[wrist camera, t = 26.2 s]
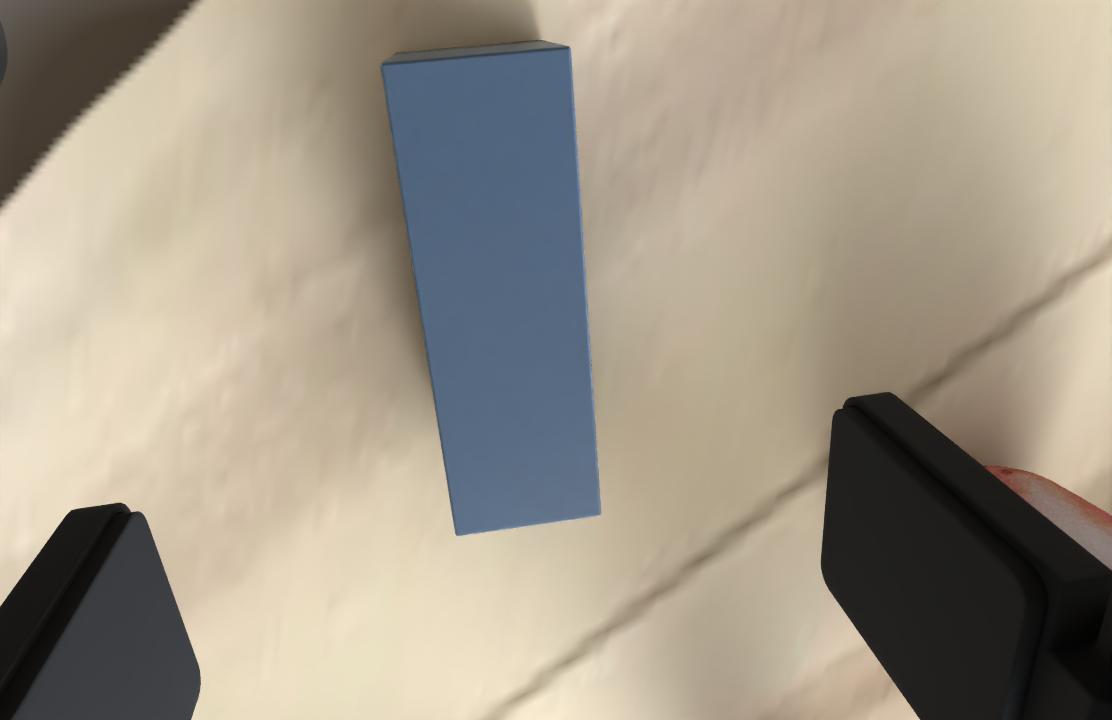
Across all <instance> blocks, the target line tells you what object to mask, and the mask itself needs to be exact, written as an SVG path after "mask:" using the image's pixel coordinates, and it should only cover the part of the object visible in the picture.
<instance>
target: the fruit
mask: <svg viewBox="0 0 1112 720" xmlns="http://www.w3.org/2000/svg"><path fill="white" fill-rule="evenodd" d="M983 467H985V468H986V469H987V470H988V471H990V472H991V473H992V474H993V475H995V476H996V477H997V478H998V479H1000V480H1001V481H1002V482H1003V483H1005V484H1006V485H1007V486H1008V487H1009V488H1011V489H1012V490H1013V491H1014V492H1016V493H1017V494H1018V495H1019V496H1021V497H1022V498H1023V499H1024V500H1026V501H1027V502H1028V503H1029V504H1030V505H1032V506H1033V507H1034V508H1035V509H1037V510H1038V511H1039V512H1040V513H1042V514H1043V515H1044V516H1045V517H1047V518H1048V519H1049V520H1050V521H1052V522H1053V523H1054V524H1055V525H1056V526H1058V527H1059V528H1060V529H1061V530H1063V531H1064V532H1065V533H1066V534H1068V535H1069V536H1070V537H1071V538H1073V539H1074V540H1075V541H1076V542H1077V543H1079V544H1080V545H1081V546H1082V547H1084V548H1085V549H1086V550H1087V551H1089V552H1090V553H1091V554H1092V555H1094V556H1095V557H1096V558H1097V559H1098V560H1100V561H1101V562H1102V563H1103V564H1105V565H1106V566H1107V567H1108V568H1110V569H1111V570H1112V516H1111V515H1110V514H1108V513H1106V512H1105V511H1103V510H1101V509H1100V508H1098V507H1096V506H1094V505H1093V504H1091V503H1089V502H1087V501H1086V500H1084V499H1082V498H1081V497H1079V496H1078V495H1076V494H1074V493H1072V492H1070V491H1068V490H1067V489H1065V488H1063V487H1061V486H1060V485H1058V484H1056V483H1054V482H1053V481H1051V480H1049V479H1046V478H1044V477H1042V476H1039V475H1037V474H1034V473H1030V472H1027V471H1023V470H1018V469H1013V468H1007V467H1001V466H983Z"/></svg>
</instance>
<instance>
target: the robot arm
mask: <svg viewBox="0 0 1112 720" xmlns="http://www.w3.org/2000/svg"><path fill="white" fill-rule="evenodd" d="M821 569H822V574H823V578H824V581H825V583H826V585H827V587H828V589H829V590H830V592H831V593H832V595H833V596H834V598H835V599H836V600H837V602H838V603H839V605H840V606H841V607H842V609H843V610H844V612H845V613H846V615H847V616H848V617H849V619H850V620H851V622H852V623H853V625H854V626H855V627H856V629H857V630H858V632H859V633H860V635H861V636H862V637H863V639H864V640H865V642H866V643H867V645H868V646H869V647H870V649H871V650H872V652H873V653H874V655H875V656H876V657H877V659H878V660H879V662H880V663H881V665H882V666H883V667H884V669H885V670H886V672H887V673H888V674H889V676H890V677H891V679H892V680H893V682H894V683H895V684H896V686H897V687H898V689H899V690H900V692H901V693H902V694H903V696H904V697H905V699H906V700H907V702H908V703H909V704H910V706H911V707H912V709H913V710H914V712H915V713H916V714H917V716H918V717H919V719H920V720H1112V570H1111V569H1110V568H1108V567H1107V566H1106V565H1105V564H1103V563H1102V562H1101V561H1100V560H1098V559H1097V558H1096V557H1095V556H1094V555H1092V554H1091V553H1090V552H1089V551H1087V550H1086V549H1085V548H1084V547H1082V546H1081V545H1080V544H1079V543H1077V542H1076V541H1075V540H1074V539H1073V538H1071V537H1070V536H1069V535H1068V534H1066V533H1065V532H1064V531H1063V530H1061V529H1060V528H1059V527H1058V526H1056V525H1055V524H1054V523H1053V522H1052V521H1050V520H1049V519H1048V518H1047V517H1045V516H1044V515H1043V514H1042V513H1040V512H1039V511H1038V510H1037V509H1035V508H1034V507H1033V506H1032V505H1030V504H1029V503H1028V502H1027V501H1026V500H1024V499H1023V498H1022V497H1021V496H1019V495H1018V494H1017V493H1016V492H1014V491H1013V490H1012V489H1011V488H1009V487H1008V486H1007V485H1006V484H1005V483H1003V482H1002V481H1001V480H1000V479H998V478H997V477H996V476H995V475H993V474H992V473H991V472H990V471H988V470H987V469H986V468H985V467H983V466H982V465H981V464H980V463H979V462H977V461H976V460H975V459H974V458H972V457H971V456H970V455H969V454H967V453H966V452H965V451H964V450H962V449H961V448H960V447H959V446H958V445H956V444H955V443H954V442H953V441H951V440H950V439H949V438H948V437H946V436H945V435H944V434H943V433H941V432H940V431H939V430H938V429H936V428H935V427H934V426H933V425H932V424H930V423H929V422H928V421H927V420H925V419H924V418H923V417H922V416H920V415H919V414H918V413H917V412H915V411H914V410H913V409H912V408H911V407H909V406H908V405H907V404H906V403H904V402H903V401H902V400H901V399H899V398H898V397H897V396H896V395H894V394H892V393H890V392H884V393H877V394H870V395H863V396H857V397H850V398H848V399H847V400H846V401H845V403H844V405H843V409H838V410H836V411H835V413H834V415H833V419H832V429H831V442H830V454H829V466H828V479H827V491H826V504H825V516H824V529H823V541H822V553H821ZM200 685H201V677H200V669H199V665H198V662H197V660H196V657H195V654H194V651H193V648H192V646H191V643H190V640H189V637H188V634H187V632H186V629H185V626H184V623H183V620H182V618H181V615H180V612H179V609H178V606H177V604H176V601H175V598H174V595H173V592H172V590H171V587H170V584H169V581H168V578H167V576H166V573H165V570H164V567H163V564H162V562H161V559H160V556H159V553H158V550H157V548H156V545H155V542H154V539H153V536H152V534H151V531H150V528H149V525H148V522H147V520H146V518H145V516H144V515H143V514H142V513H141V512H138V511H137V512H131V511H130V509H129V508H128V507H127V506H126V505H125V504H123V503H114V504H107V505H101V506H94V507H87V508H80V509H75V510H71V511H70V512H69V513H68V514H67V515H66V516H65V518H64V519H63V521H62V522H61V523H60V525H59V526H58V527H57V529H56V530H55V532H54V533H53V534H52V536H51V537H50V539H49V540H48V541H47V543H46V544H45V545H44V547H43V548H42V550H41V551H40V552H39V554H38V555H37V557H36V558H35V559H34V561H33V562H32V563H31V565H30V566H29V568H28V569H27V570H26V572H25V573H24V575H23V576H22V577H21V579H20V580H19V581H18V583H17V584H16V586H15V587H14V588H13V590H12V591H11V593H10V594H9V595H8V597H7V598H6V599H5V601H4V602H3V604H2V605H1V606H0V720H191V718H192V715H193V712H194V709H195V706H196V703H197V700H198V697H199V693H200Z"/></svg>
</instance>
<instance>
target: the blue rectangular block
mask: <svg viewBox="0 0 1112 720" xmlns="http://www.w3.org/2000/svg"><path fill="white" fill-rule="evenodd" d="M381 73H382V79H383V85H384V91H385V98H386V104H387V110H388V116H389V123H390V129H391V135H392V141H393V148H394V154H395V160H396V166H397V172H398V179H399V185H400V191H401V197H402V204H403V210H404V216H405V222H406V229H407V235H408V241H409V247H410V254H411V260H412V266H413V272H414V279H415V285H416V291H417V297H418V304H419V310H420V316H421V322H422V329H423V335H424V341H425V347H426V354H427V360H428V366H429V372H430V379H431V385H432V391H433V397H434V404H435V410H436V416H437V422H438V428H439V435H440V441H441V447H442V453H443V460H444V466H445V472H446V478H447V485H448V491H449V497H450V503H451V510H452V516H453V522H454V528H455V534H456V535H457V536H462V535H469V534H476V533H483V532H490V531H497V530H504V529H511V528H518V527H525V526H532V525H539V524H546V523H553V522H560V521H567V520H574V519H581V518H588V517H595V516H600V515H601V503H600V488H599V472H598V457H597V442H596V426H595V411H594V396H593V381H592V365H591V350H590V335H589V319H588V304H587V289H586V273H585V258H584V243H583V227H582V212H581V197H580V181H579V166H578V151H577V136H576V120H575V105H574V90H573V74H572V59H571V49H570V47H568V46H565V45H560V44H556V43H551V42H547V41H544V40H535V41H524V42H513V43H502V44H490V45H479V46H468V47H457V48H445V49H434V50H423V51H412V52H400V53H396V54H394V55H393V56H392V57H390V58H389V59H387V60H386V61H385V62H383V63H382V64H381Z"/></svg>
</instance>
